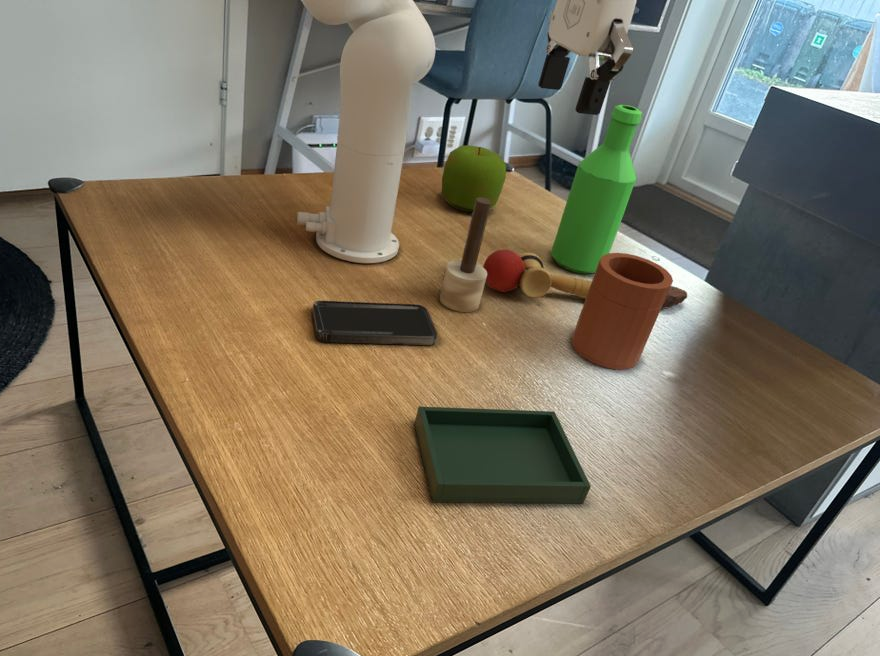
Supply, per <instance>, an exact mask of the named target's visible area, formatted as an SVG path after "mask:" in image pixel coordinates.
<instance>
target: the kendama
mask: <svg viewBox="0 0 880 656" xmlns="http://www.w3.org/2000/svg"><path fill="white" fill-rule="evenodd" d="M482 267H483V268H484V269H485V270H486V271H487V278H486V282H485V285H487V286H488V287H489V288H490V289H491V290H493V291H497V292H510V291H513V290H518V289H520V290H521V292H522V293H523V294H524V295H525V296H527V297H529V298H532V299H539V298H541V297H543V296H545V295H547V294H548V293H549V291H550V290H551V288H553V289H555V290H557V291H560V292H564V293H567V294H569V295H574V296H576V297H579V298H582V299H585V300H586V297H587V294H588V291H589V289H590V286H591V283H592V280H588V279H584V278H578V277H573V276H567V275H561V274H552V273H549V271H547V270H546V269H545V264H544V262H543V260H542V258H540V257H539V255H537V254H536V253H534V252H523V253H521V254H518V253H516V252H515V251H513V250H510V249H497V250H496V251H493V252H492V253H490V254H489V255H488V256H487V258H486V259H485V261H484V264H483V266H482ZM518 286H519V287H518Z"/></svg>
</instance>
